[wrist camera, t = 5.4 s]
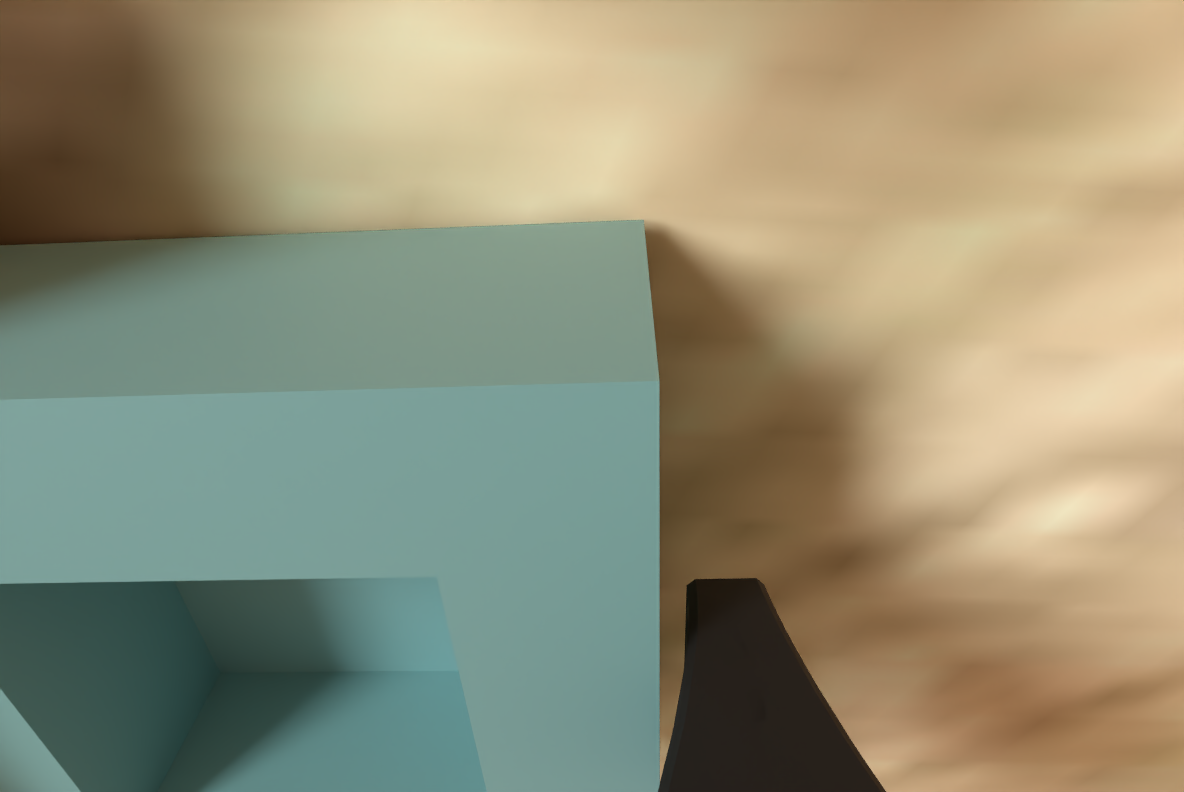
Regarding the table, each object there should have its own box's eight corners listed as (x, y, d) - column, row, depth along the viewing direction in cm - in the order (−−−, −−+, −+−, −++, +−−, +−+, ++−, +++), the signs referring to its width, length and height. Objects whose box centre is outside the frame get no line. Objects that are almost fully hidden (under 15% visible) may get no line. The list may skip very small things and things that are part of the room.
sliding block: (172, 700, 15) (47, 918, 12) (-92, 249, 10) (-457, 413, 7) (649, 697, 15) (659, 924, 11) (643, 219, 9) (659, 380, 6)
